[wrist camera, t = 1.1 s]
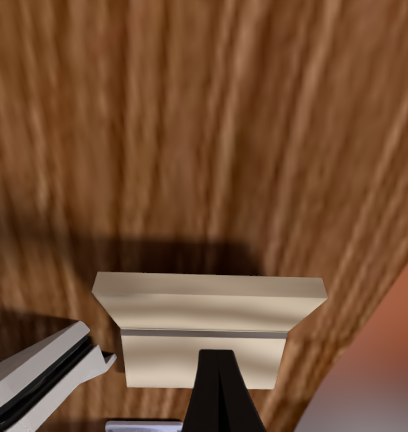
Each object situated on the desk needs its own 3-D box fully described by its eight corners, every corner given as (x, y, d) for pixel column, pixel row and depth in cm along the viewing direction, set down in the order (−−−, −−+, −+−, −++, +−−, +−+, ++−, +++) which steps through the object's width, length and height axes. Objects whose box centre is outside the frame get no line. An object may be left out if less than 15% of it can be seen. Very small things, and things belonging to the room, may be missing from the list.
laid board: (270, 375, 23) (273, 389, 22) (130, 373, 23) (127, 387, 22) (283, 319, 20) (287, 332, 19) (124, 316, 20) (120, 328, 19)
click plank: (285, 315, 20) (288, 331, 19) (123, 311, 20) (119, 327, 19) (321, 278, 15) (327, 298, 14) (97, 271, 14) (91, 291, 13)
